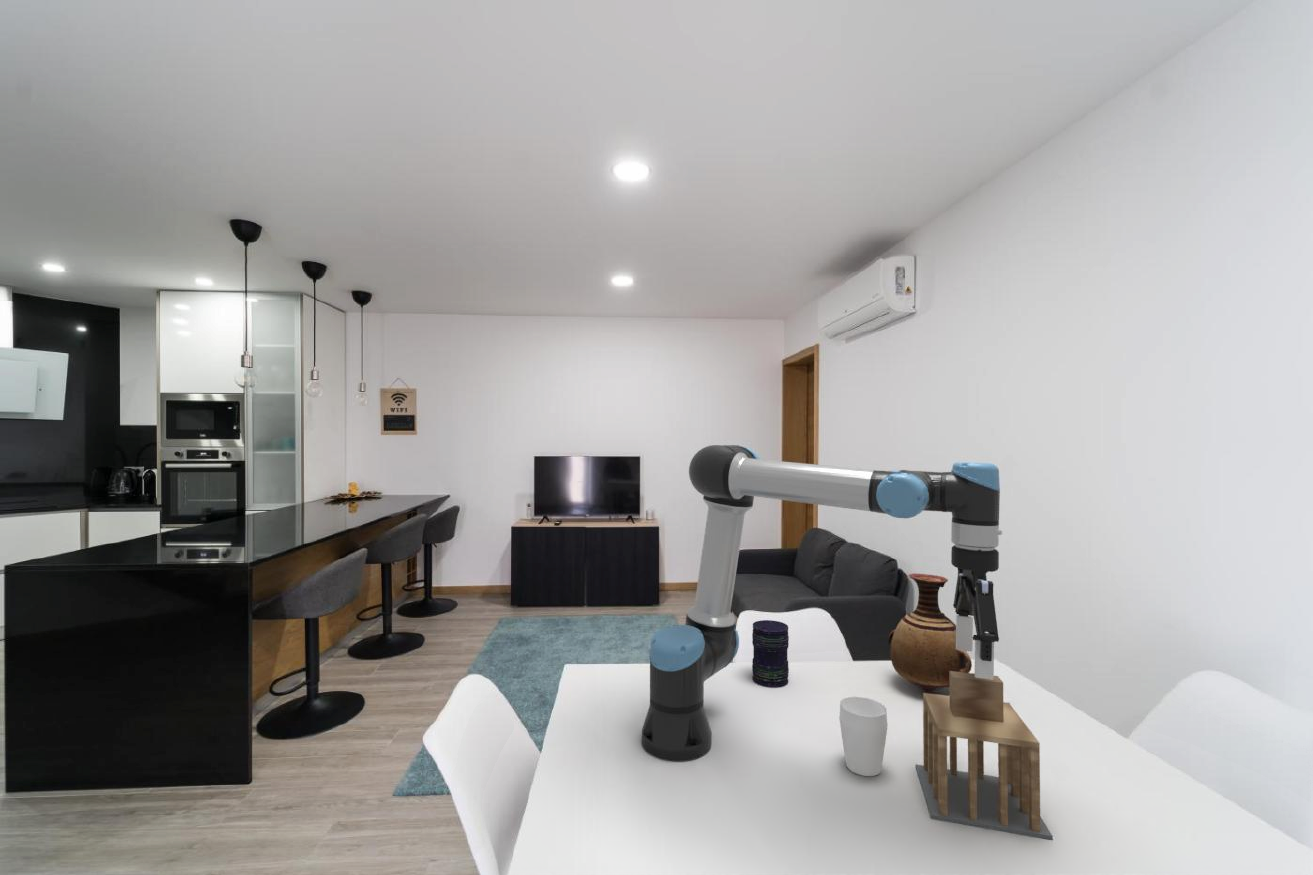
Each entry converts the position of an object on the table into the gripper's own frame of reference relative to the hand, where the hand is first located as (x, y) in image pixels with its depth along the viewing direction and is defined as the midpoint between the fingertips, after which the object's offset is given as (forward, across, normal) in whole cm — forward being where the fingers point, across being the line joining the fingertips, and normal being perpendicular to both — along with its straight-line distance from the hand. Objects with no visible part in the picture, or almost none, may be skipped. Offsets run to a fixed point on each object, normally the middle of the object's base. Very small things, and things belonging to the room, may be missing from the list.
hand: (973, 663), depth 101 cm
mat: (+24, 0, -1) cm, 24 cm away
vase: (+25, +48, -1) cm, 54 cm away
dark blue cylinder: (+25, +42, +40) cm, 63 cm away
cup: (+25, +5, +18) cm, 31 cm away
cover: (+24, 0, -1) cm, 24 cm away
